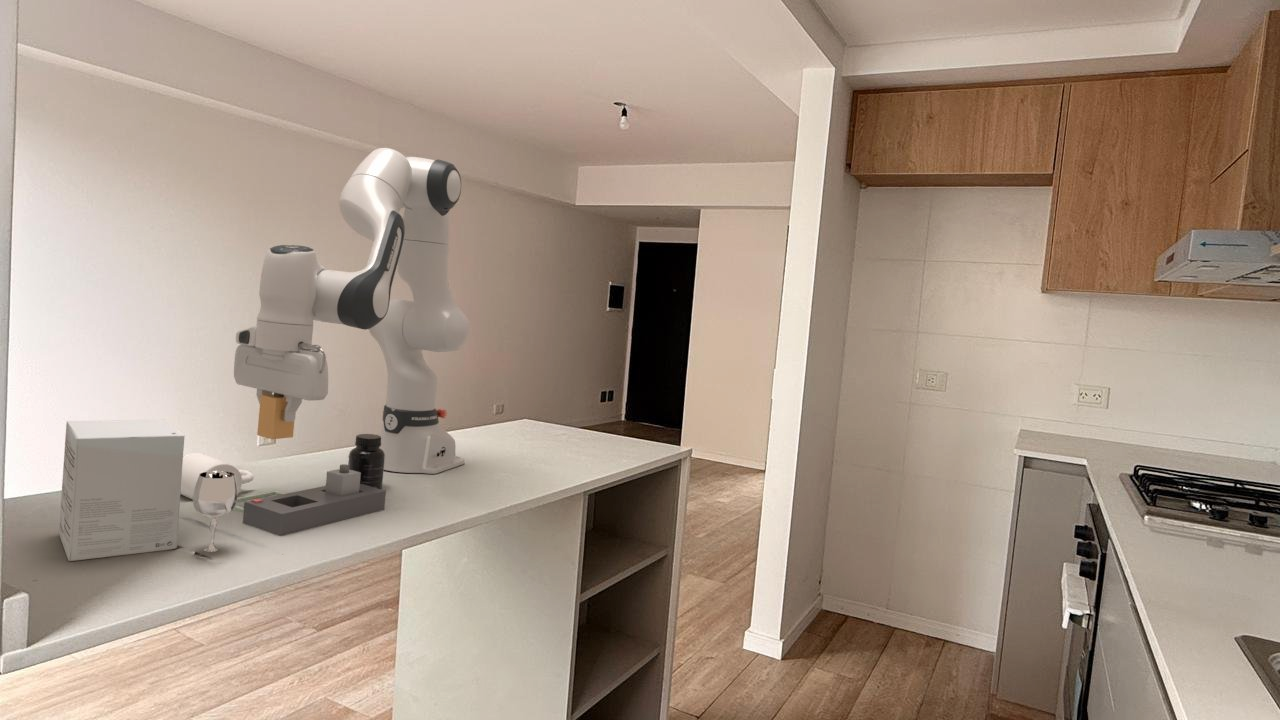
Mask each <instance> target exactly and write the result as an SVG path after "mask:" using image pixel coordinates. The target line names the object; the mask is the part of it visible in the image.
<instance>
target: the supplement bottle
mask: <svg viewBox="0 0 1280 720" xmlns="http://www.w3.org/2000/svg"><path fill="white" fill-rule="evenodd" d="M354 445H355V446H356V447H353V448H352V449H351V450H350V451H349V454H348V464H347V465H349V469H350V470H353V471H357V472H361V477H360V484H364V485H367V486H371V487H374V488H378V489H381V490H383V480H384V471H385V470H384V460H385V453H384V452H383V450H381V449H380V448H379V447H380V446H381V436H380V435H378V434H373V433H360V434H356V436H355V442H354Z"/></svg>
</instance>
